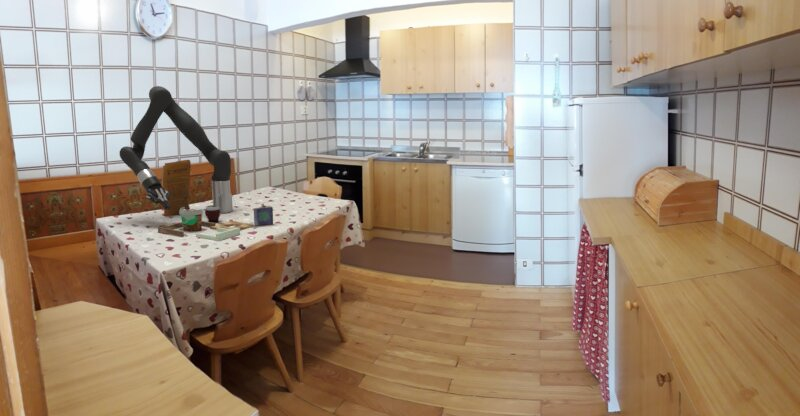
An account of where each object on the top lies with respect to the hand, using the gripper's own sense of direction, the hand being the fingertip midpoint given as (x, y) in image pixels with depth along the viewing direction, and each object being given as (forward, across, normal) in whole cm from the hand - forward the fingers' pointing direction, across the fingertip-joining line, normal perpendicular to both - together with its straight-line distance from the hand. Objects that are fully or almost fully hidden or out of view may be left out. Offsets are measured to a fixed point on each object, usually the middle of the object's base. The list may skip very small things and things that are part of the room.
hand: (168, 208), depth 242 cm
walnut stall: (+15, 0, -2) cm, 15 cm away
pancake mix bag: (-8, +22, +21) cm, 31 cm away
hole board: (+24, +14, -12) cm, 31 cm away
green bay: (+28, 0, -16) cm, 32 cm away
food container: (+16, 0, -3) cm, 16 cm away
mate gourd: (+13, +18, -1) cm, 22 cm away
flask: (+31, +26, -18) cm, 44 cm away
